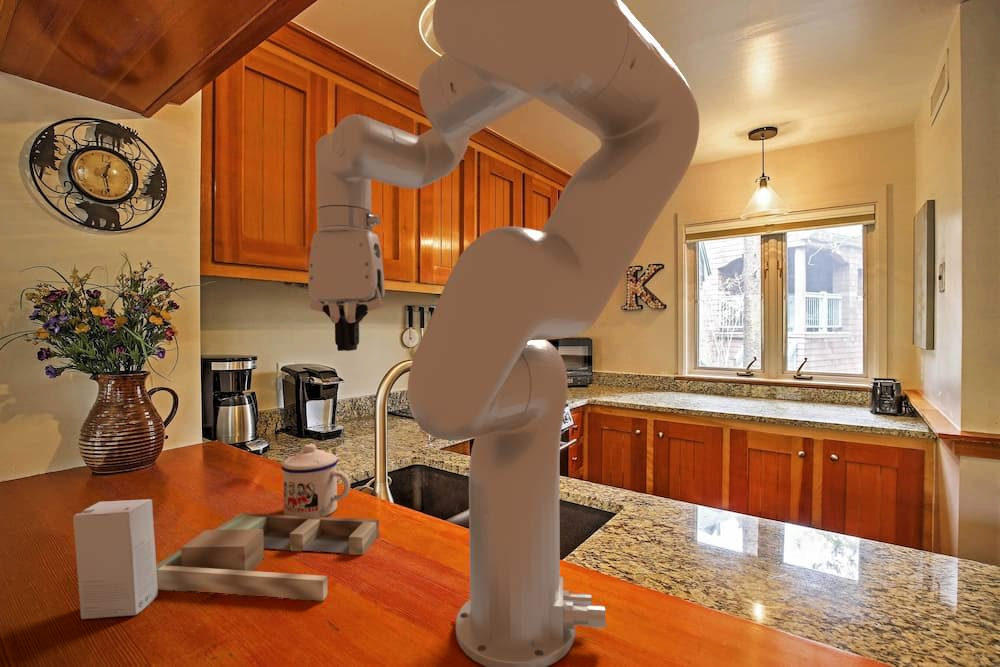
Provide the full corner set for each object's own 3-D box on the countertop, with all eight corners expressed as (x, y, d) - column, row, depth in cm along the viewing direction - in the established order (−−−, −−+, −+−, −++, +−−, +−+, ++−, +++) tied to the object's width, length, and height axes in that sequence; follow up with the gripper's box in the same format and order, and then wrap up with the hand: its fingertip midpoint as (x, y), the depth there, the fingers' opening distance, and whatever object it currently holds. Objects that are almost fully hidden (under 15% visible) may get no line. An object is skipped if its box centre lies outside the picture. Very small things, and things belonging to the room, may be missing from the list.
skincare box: (159, 595, 57) (157, 496, 56) (134, 618, 52) (131, 511, 52) (105, 598, 56) (101, 499, 56) (74, 622, 52) (71, 514, 51)
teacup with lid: (270, 520, 78) (268, 451, 78) (304, 499, 87) (302, 437, 87) (335, 526, 75) (334, 454, 75) (363, 504, 84) (362, 440, 84)
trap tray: (379, 535, 72) (378, 519, 72) (323, 601, 55) (322, 580, 55) (241, 528, 75) (241, 513, 75) (149, 588, 58) (148, 569, 58)
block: (264, 561, 65) (263, 529, 65) (245, 580, 60) (244, 546, 60) (205, 562, 65) (205, 530, 65) (182, 582, 60) (181, 547, 60)
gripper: (402, 228, 71) (404, 348, 71) (309, 231, 73) (312, 349, 73) (385, 217, 63) (387, 351, 64) (282, 221, 65) (285, 352, 66)
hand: (347, 349), depth 68 cm, fingers closed
